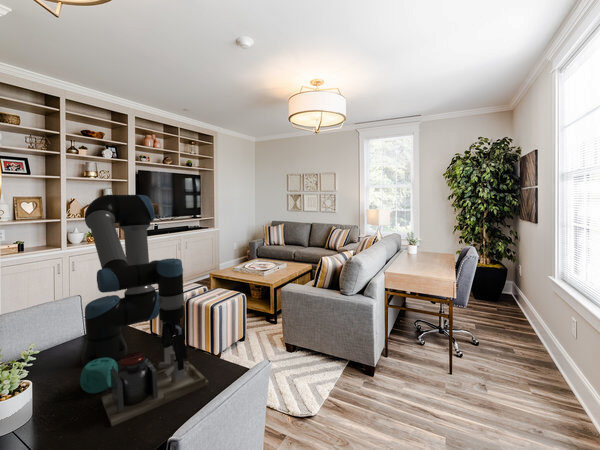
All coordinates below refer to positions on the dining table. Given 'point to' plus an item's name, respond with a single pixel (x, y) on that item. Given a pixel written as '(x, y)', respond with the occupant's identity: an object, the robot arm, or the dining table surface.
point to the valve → (133, 381)
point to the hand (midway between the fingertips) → (174, 371)
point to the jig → (165, 394)
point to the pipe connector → (171, 367)
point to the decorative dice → (97, 375)
